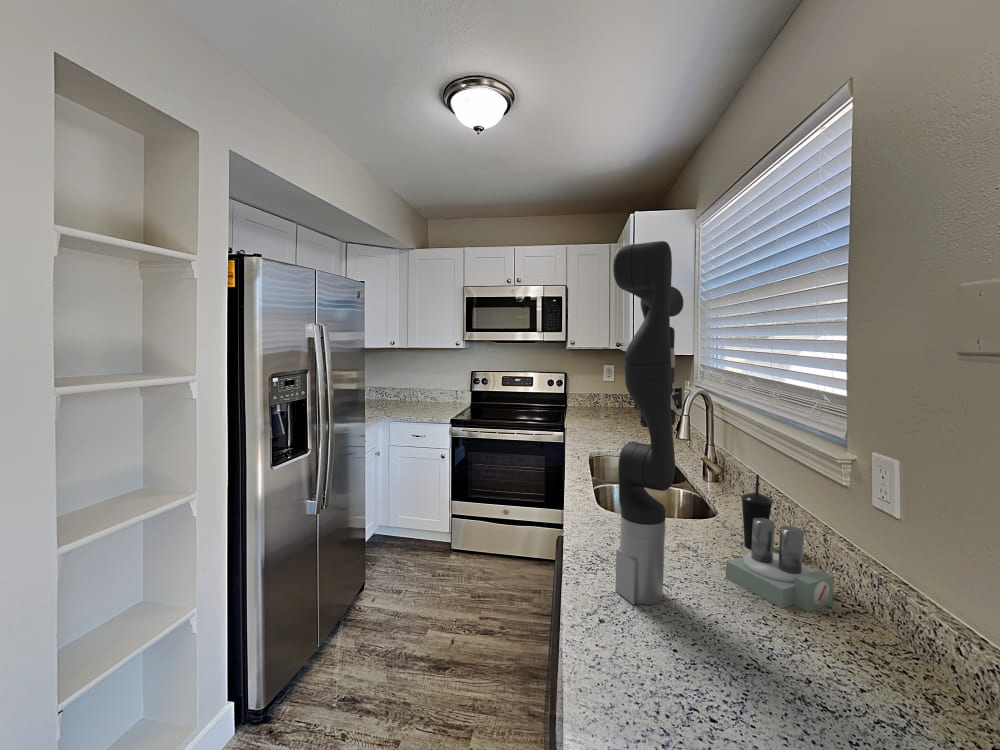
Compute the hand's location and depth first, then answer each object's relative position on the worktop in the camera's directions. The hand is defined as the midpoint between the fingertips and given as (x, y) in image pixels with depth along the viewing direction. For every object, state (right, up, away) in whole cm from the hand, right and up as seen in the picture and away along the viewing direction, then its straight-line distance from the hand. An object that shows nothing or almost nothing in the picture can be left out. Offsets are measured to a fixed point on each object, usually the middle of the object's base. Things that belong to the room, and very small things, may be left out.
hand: (657, 426), depth 125 cm
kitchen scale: (+21, -35, -20) cm, 45 cm away
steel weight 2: (+22, -30, -21) cm, 43 cm away
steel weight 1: (+19, -29, -16) cm, 38 cm away
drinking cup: (+27, -34, +2) cm, 43 cm away
